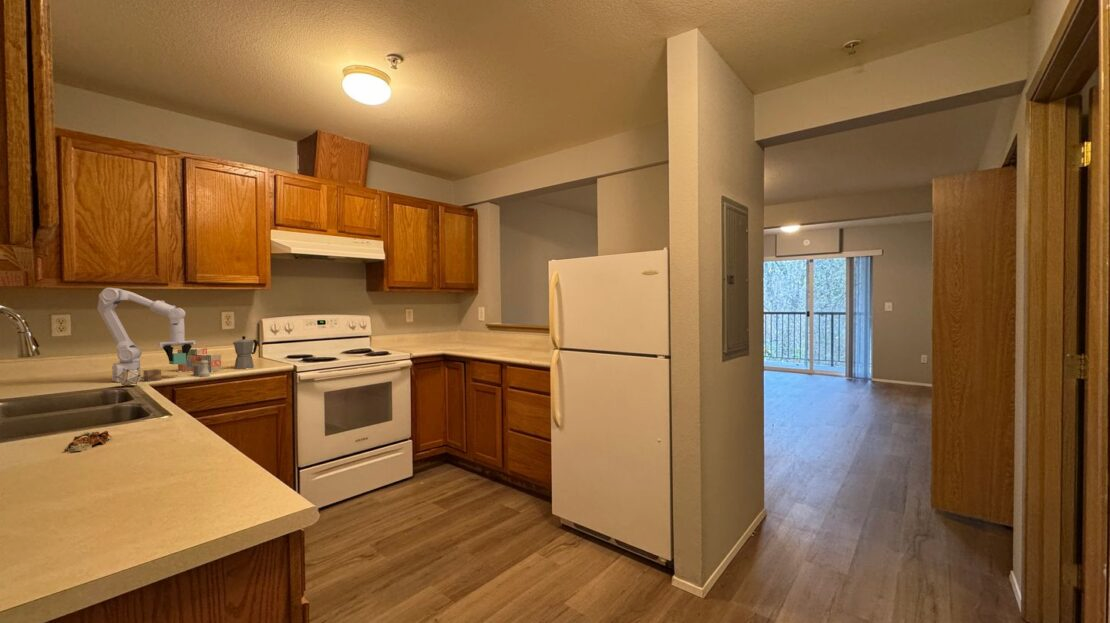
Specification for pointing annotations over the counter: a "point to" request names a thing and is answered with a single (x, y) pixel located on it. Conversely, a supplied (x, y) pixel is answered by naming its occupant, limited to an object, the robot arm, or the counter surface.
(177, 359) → the muted green block
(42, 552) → the counter surface
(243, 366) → the coffeepot
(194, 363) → the stack of blocks
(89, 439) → the pastry
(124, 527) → the counter surface
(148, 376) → the walnut block
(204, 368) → the rook chess piece
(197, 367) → the gray block
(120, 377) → the geometric wire lantern
